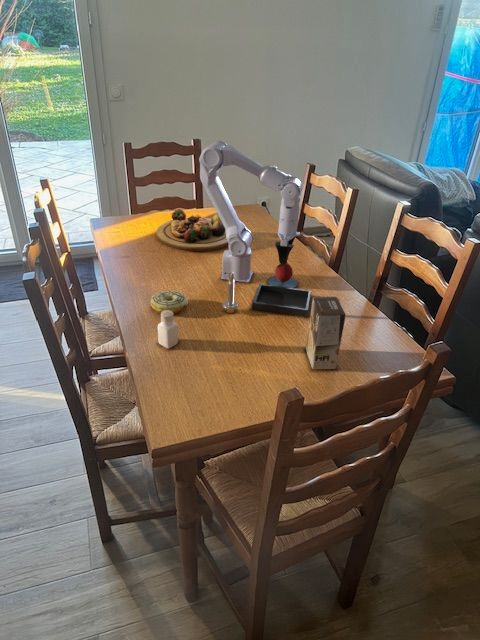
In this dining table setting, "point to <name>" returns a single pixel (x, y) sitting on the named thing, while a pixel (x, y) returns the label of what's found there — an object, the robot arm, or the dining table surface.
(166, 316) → the salt shaker
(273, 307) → the tray
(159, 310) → the decorated donut
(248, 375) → the dining table surface
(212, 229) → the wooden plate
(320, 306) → the coffee box
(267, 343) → the dining table surface
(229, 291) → the screw
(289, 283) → the mat
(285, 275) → the onion
